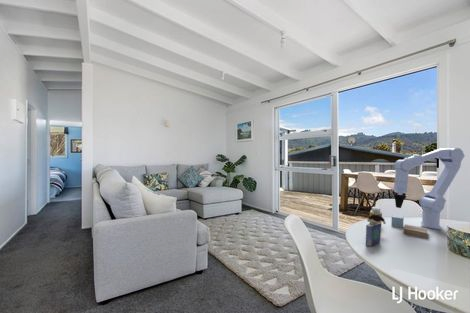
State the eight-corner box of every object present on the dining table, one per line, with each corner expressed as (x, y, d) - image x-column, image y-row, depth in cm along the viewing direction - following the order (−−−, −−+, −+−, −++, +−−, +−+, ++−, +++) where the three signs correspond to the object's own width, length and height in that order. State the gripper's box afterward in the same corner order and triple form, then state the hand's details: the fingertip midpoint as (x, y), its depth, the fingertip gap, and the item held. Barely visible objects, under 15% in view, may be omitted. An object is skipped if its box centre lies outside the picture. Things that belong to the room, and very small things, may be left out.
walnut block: (404, 229, 120) (404, 224, 120) (427, 234, 115) (427, 228, 114) (403, 234, 113) (403, 228, 113) (427, 239, 108) (427, 233, 108)
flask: (370, 247, 97) (370, 222, 97) (363, 244, 100) (363, 220, 99) (381, 243, 102) (382, 219, 101) (374, 240, 104) (375, 217, 104)
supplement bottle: (378, 228, 120) (378, 209, 120) (367, 225, 125) (367, 207, 125) (383, 226, 123) (384, 208, 123) (372, 224, 128) (373, 205, 128)
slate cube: (392, 223, 130) (392, 214, 129) (403, 225, 126) (403, 216, 126) (391, 225, 126) (391, 216, 126) (402, 227, 123) (403, 218, 122)
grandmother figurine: (367, 233, 113) (368, 208, 113) (366, 230, 117) (367, 206, 116) (386, 235, 110) (386, 209, 110) (384, 233, 114) (385, 207, 113)
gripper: (392, 179, 133) (390, 203, 133) (391, 181, 121) (389, 207, 121) (407, 181, 129) (405, 205, 129) (408, 183, 117) (405, 210, 117)
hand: (398, 206), depth 125 cm, fingers open, 7 cm apart
